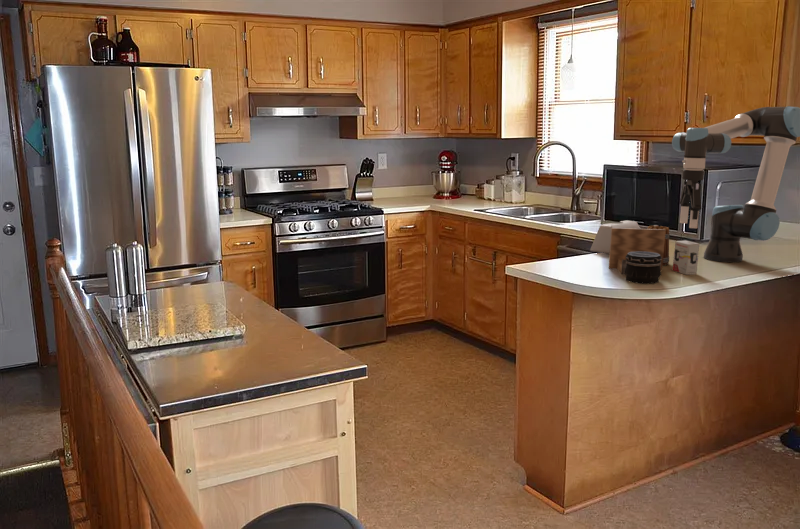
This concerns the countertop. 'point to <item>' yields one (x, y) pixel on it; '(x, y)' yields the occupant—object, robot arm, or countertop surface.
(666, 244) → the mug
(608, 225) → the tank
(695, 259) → the ink box
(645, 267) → the container
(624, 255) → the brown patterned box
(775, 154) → the robot arm
